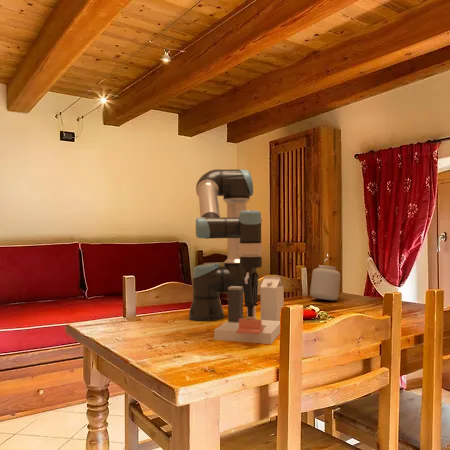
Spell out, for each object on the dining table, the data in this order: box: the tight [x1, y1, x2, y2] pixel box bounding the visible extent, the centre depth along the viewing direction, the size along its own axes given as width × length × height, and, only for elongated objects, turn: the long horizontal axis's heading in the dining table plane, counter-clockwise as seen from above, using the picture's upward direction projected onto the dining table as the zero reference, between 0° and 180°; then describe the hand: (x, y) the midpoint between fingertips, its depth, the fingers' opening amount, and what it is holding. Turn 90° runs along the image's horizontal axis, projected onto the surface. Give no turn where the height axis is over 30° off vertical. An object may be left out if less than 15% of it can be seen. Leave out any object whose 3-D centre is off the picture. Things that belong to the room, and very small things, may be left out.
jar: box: [309, 254, 341, 301], centre depth 229 cm, size 19×15×25 cm
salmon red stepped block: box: [236, 318, 264, 335], centre depth 143 cm, size 8×8×4 cm
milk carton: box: [259, 275, 285, 321], centre depth 173 cm, size 7×7×19 cm
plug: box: [227, 286, 244, 322], centre depth 162 cm, size 4×4×13 cm
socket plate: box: [213, 320, 281, 345], centre depth 154 cm, size 20×20×4 cm
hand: (251, 325), depth 144 cm, fingers closed
